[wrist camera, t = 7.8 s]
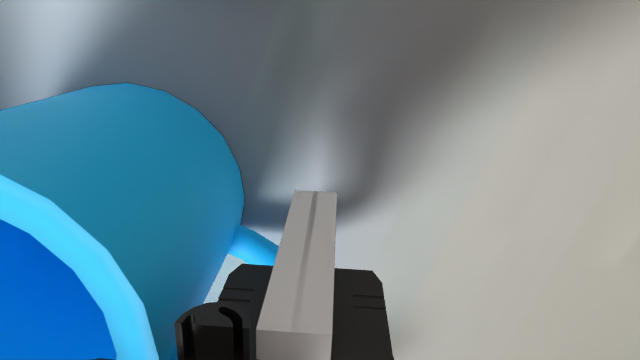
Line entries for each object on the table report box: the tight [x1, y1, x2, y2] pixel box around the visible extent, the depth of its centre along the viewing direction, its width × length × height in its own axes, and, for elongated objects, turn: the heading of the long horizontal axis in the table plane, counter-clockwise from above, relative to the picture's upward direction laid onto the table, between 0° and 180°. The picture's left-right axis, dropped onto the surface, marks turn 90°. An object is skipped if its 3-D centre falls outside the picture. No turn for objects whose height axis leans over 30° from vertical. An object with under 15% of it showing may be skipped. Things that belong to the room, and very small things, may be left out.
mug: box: [0, 83, 279, 360], centre depth 13 cm, size 12×8×8 cm
